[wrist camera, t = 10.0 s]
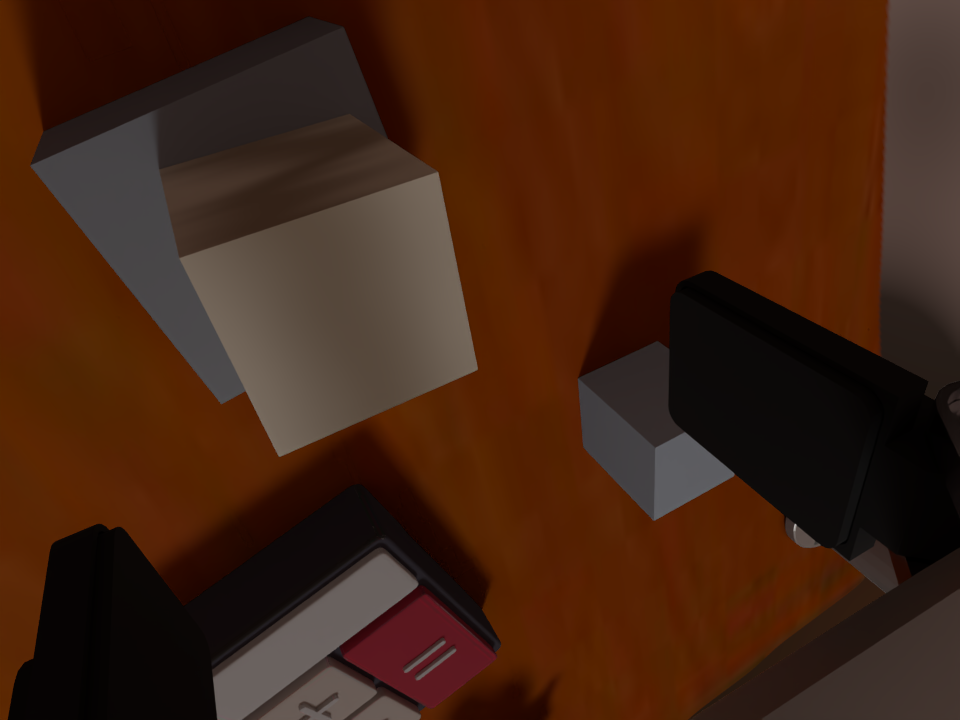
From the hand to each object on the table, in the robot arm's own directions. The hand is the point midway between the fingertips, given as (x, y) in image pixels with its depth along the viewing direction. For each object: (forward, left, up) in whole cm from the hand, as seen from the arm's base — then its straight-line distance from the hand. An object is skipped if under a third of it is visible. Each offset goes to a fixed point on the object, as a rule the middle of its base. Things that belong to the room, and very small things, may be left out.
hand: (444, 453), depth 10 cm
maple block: (0, 0, -10) cm, 10 cm away
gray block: (-14, +16, -14) cm, 25 cm away
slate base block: (+1, 0, -14) cm, 14 cm away
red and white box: (+4, +22, -14) cm, 27 cm away
